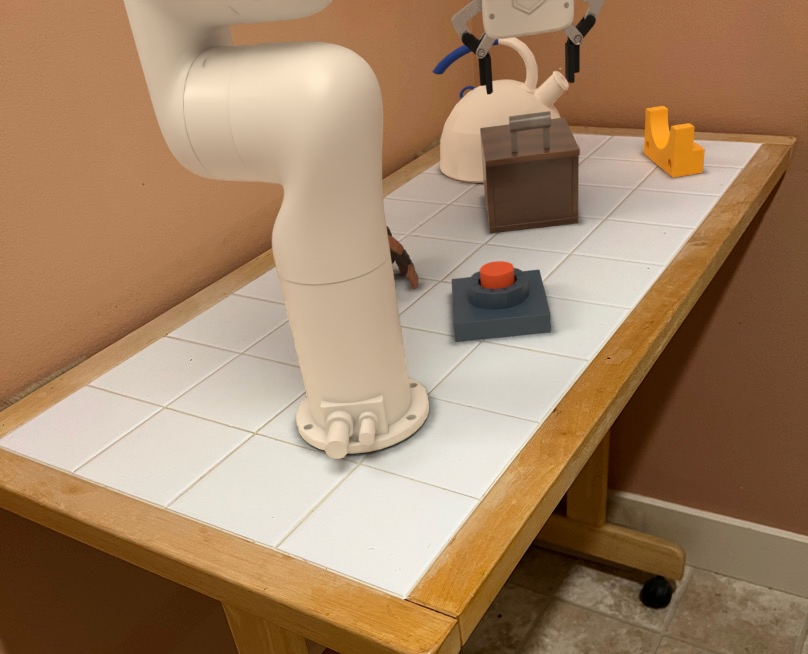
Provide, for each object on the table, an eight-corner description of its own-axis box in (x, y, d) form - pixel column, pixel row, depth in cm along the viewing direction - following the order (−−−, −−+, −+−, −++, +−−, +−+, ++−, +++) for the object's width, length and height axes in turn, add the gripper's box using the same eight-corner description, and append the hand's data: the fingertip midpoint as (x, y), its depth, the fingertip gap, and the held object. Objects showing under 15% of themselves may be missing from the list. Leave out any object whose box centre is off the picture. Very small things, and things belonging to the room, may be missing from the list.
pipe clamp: (702, 172, 114) (707, 124, 110) (672, 177, 114) (676, 129, 110) (671, 148, 124) (674, 103, 120) (643, 153, 124) (645, 108, 120)
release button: (515, 288, 85) (515, 273, 84) (481, 292, 86) (480, 277, 85) (513, 274, 88) (512, 259, 87) (480, 278, 89) (478, 263, 88)
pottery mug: (423, 303, 95) (381, 254, 89) (359, 336, 99) (316, 292, 94) (425, 238, 102) (386, 190, 96) (366, 272, 106) (325, 228, 101)
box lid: (579, 155, 100) (580, 112, 97) (485, 167, 101) (483, 125, 98) (564, 123, 111) (564, 83, 108) (480, 133, 112) (477, 95, 109)
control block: (550, 332, 84) (550, 297, 82) (455, 342, 86) (451, 308, 83) (539, 287, 93) (539, 254, 91) (453, 296, 94) (450, 263, 92)
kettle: (556, 182, 119) (555, 45, 107) (423, 185, 125) (408, 56, 114) (579, 139, 133) (580, 14, 122) (458, 143, 140) (448, 25, 129)
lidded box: (578, 223, 106) (578, 153, 101) (489, 233, 107) (485, 165, 102) (565, 187, 117) (564, 123, 111) (484, 197, 118) (480, 134, 112)
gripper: (443, -71, 85) (458, 104, 95) (612, -98, 83) (607, 83, 94) (442, -78, 90) (457, 88, 101) (600, -103, 89) (597, 68, 99)
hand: (529, 85), depth 97 cm, fingers open, 9 cm apart
